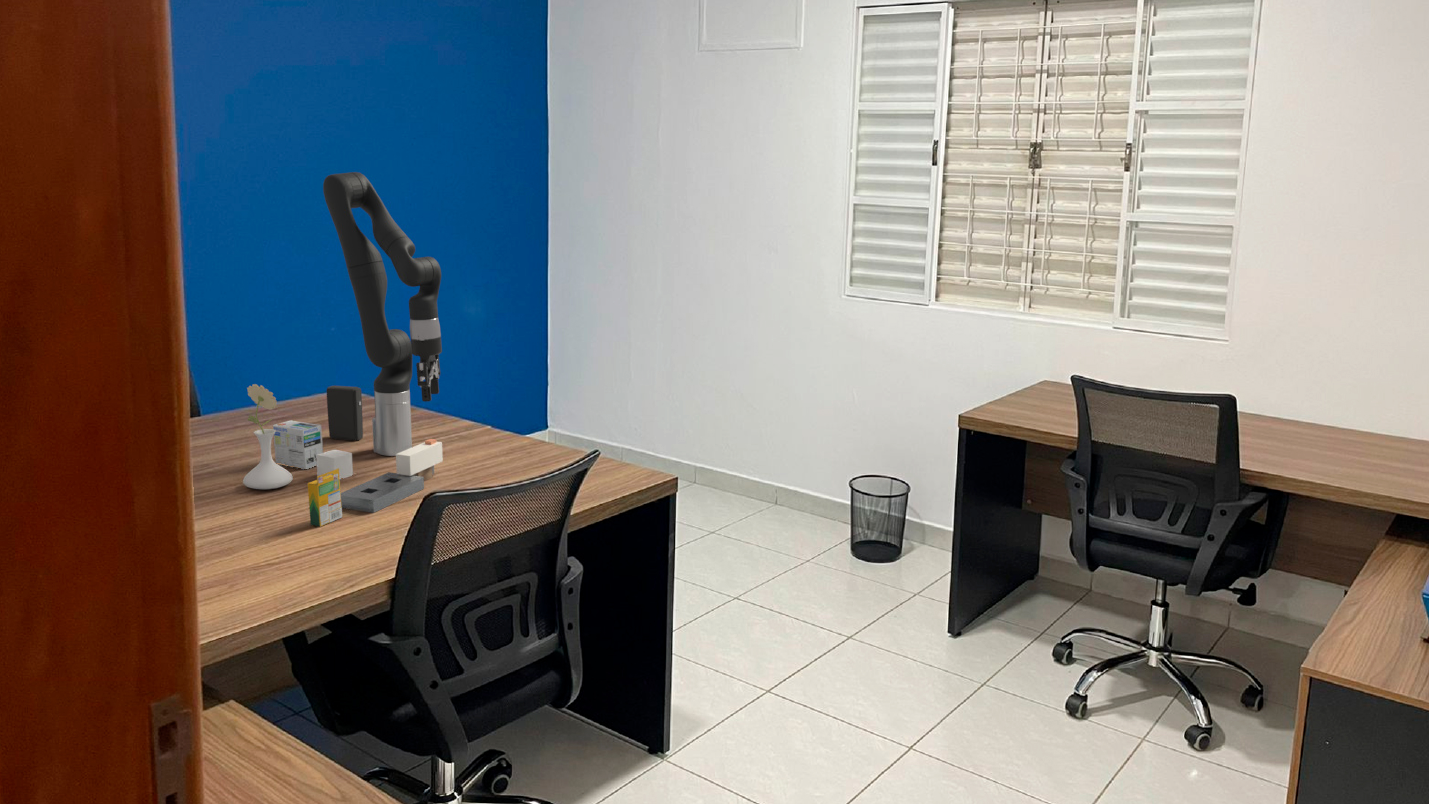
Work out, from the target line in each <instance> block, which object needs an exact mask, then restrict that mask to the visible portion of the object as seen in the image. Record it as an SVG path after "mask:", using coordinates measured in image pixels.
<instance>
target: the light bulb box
mask: <svg viewBox="0 0 1429 804" xmlns="http://www.w3.org/2000/svg"><path fill="white" fill-rule="evenodd" d="M272 429H273V430H276V432H275V433H274V435H273V445H274V446H273V447H274V456H275V458H274V459H275V463H281V464H285V465H288V466H294V467H298V468H301V469H300V470H304V469H307V470H309V468H310V469H312V467H313V468H315V467H314V466H316V467H317V458H316V455H317V454H321V453H324V447H323V431H322V424H317V423H311V422H305V421H304V422H303V421H295V420H292V419H291V420H287V421H283V422H281V423H276V424H273V425H272ZM298 468H297V469H298Z"/></svg>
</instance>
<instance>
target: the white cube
mask: <svg viewBox="0 0 1429 804" xmlns="http://www.w3.org/2000/svg"><path fill="white" fill-rule="evenodd" d="M316 458H317V466H316V472H317V474H316V475H317V476H319V475H322V474H325V473H327V472H330V471H333V470H335V469H338V468H339V479H340V480H342V479H341V478H343V479H346V478H349V477H352V475H354V471H353V453H352V452H348V451H345V450H339V449H332V450H328V451H323V453H321V454H317V455H316ZM328 475H333V474H327V476H328ZM324 477H325V476H324Z"/></svg>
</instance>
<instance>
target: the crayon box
mask: <svg viewBox="0 0 1429 804" xmlns="http://www.w3.org/2000/svg"><path fill="white" fill-rule="evenodd" d="M327 474H333V475H328V476H327ZM324 476H325V477H324ZM340 480H341V479H339V468H338V469H335V470H333V471H330V472H327V473H325V474H322V475H319V476H318V475H317V476H316V479H315V480H312V481H311V482H307V496H308V506H309V520H310V526H312V525H315V526H314V527H318V526H319V528H322V527H323V526H326V525H328V524H329V523H332V522H334V521H336V520H339V519H342V518H343V508H342V507H341V493H342V492H341V481H340ZM321 526H322V527H321Z"/></svg>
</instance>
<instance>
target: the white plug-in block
mask: <svg viewBox="0 0 1429 804" xmlns="http://www.w3.org/2000/svg"><path fill="white" fill-rule="evenodd" d="M443 462H444V461H443V442H442V441H437V439H434V438H428V439H426V440H424V442H422V443H419V444H416V445H414V446H412V448H409V449H407V450H405V451H402V452H400V453H397V454H396V456H395V466H396V467H395V468H396V473H397V474H401V475H409V476H411V475H413V476H414V474H416V473H418V472H420V471H422V470H424V469H427V468H429V467H431V466H432V475H435V465H437V464H439V463H443Z"/></svg>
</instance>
